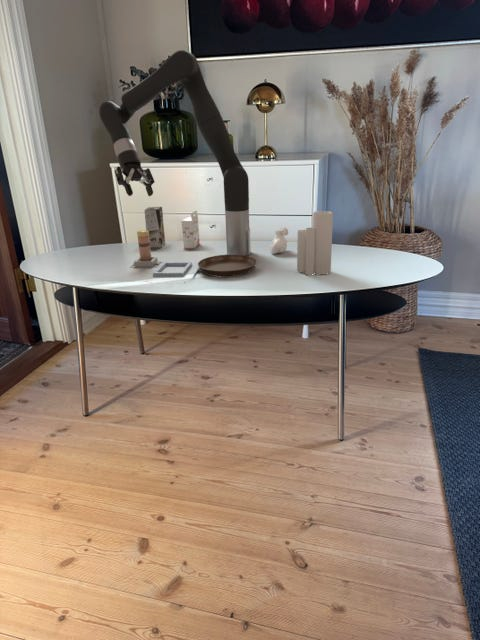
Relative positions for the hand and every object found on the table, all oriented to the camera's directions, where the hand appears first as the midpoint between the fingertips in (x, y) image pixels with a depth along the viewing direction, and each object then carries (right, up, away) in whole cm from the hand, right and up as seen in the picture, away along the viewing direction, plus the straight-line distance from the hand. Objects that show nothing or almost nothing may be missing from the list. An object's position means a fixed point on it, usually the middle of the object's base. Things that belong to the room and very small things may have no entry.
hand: (141, 195), depth 173 cm
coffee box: (-1, -12, +38) cm, 40 cm away
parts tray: (+13, -29, -7) cm, 33 cm away
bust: (+51, -18, +18) cm, 57 cm away
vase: (+61, -29, -10) cm, 68 cm away
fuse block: (+2, -26, +2) cm, 26 cm away
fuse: (+2, -25, +1) cm, 25 cm away
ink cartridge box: (+15, -13, +34) cm, 39 cm away
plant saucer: (+31, -28, -4) cm, 42 cm away
